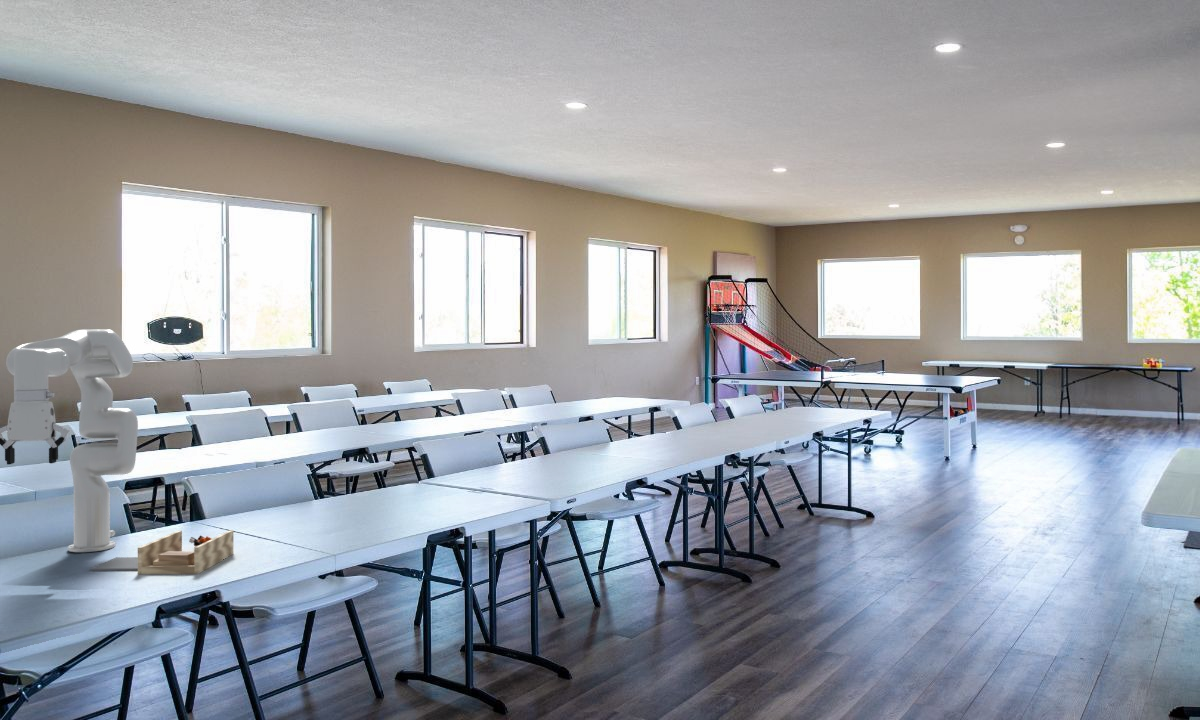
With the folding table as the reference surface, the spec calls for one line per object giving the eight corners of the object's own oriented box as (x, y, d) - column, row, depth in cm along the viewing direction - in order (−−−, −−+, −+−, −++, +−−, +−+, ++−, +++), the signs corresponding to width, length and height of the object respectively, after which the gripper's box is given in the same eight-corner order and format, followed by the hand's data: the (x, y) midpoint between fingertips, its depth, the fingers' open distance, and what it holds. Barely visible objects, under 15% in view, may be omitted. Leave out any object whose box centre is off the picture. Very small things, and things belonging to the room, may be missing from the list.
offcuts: (162, 567, 248) (162, 551, 248) (198, 567, 248) (198, 551, 248) (151, 572, 242) (151, 555, 242) (189, 572, 242) (189, 555, 242)
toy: (196, 533, 256) (198, 524, 270) (183, 551, 255) (186, 541, 269) (222, 547, 259) (222, 537, 273) (209, 565, 258) (210, 554, 272)
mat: (116, 559, 258) (116, 557, 258) (165, 559, 258) (165, 557, 258) (89, 570, 244) (89, 568, 244) (141, 570, 244) (141, 568, 244)
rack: (178, 554, 264) (178, 530, 264) (233, 554, 265) (233, 530, 265) (137, 574, 240) (137, 547, 240) (198, 573, 241) (198, 547, 241)
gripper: (73, 395, 238) (73, 460, 238) (-1, 396, 234) (0, 462, 234) (63, 397, 231) (64, 464, 231) (-13, 398, 227) (-13, 466, 227)
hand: (31, 463), depth 233 cm, fingers open, 9 cm apart
